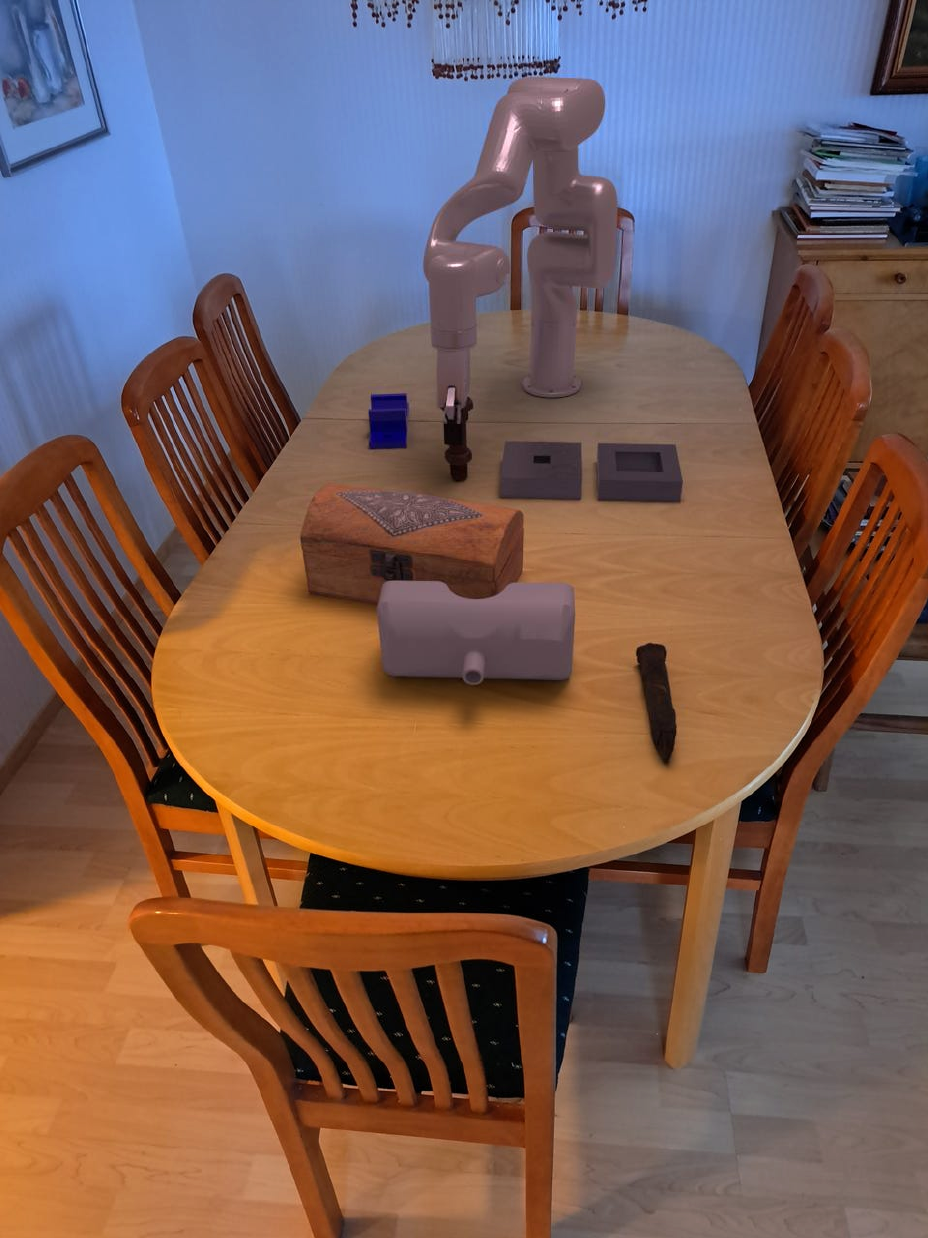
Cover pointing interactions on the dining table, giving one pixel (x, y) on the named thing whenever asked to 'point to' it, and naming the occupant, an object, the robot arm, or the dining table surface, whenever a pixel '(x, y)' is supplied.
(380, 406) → the mounting bracket
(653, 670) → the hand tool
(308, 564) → the wooden box
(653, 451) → the wide-bore block
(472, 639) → the tank
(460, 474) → the bolt
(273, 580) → the dining table surface
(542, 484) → the narrow-bore block
